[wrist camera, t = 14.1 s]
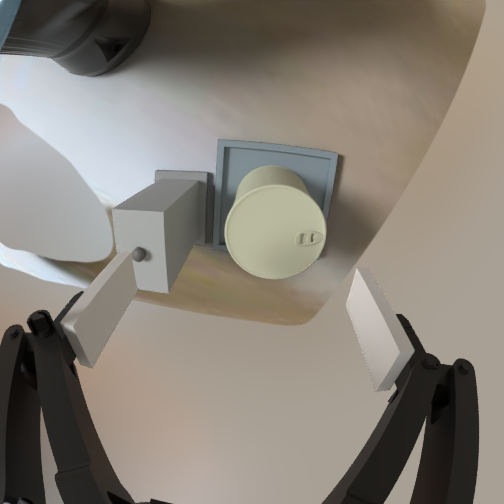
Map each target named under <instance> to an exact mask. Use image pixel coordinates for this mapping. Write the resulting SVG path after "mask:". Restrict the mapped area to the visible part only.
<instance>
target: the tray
mask: <svg viewBox="0 0 504 504" xmlns="http://www.w3.org/2000/svg"><path fill="white" fill-rule="evenodd" d="M337 158H338V153H335V152H330V151H324V150H317V149H311V148H304V147H297V146H289V145H281V144H272V143H262V142H251V141H238V140H222V139H219V140H218V148H217V164H216V181H215V201H214V226H213V250H222V251H228V248H227V245H226V242H225V223H226V220H227V216H228V214H229V212H230V210H231V208H232V207H233V204H234V202H235V199H236V193H237V189H238V187H239V184H240V183H241V181H242V180H243V178H244V177H245V176H246V175H247V174H249V173H250V172H251V171H253V170H255V169H257V168H259V167H262V166H268V165H276V166H282V167H285V168H287V169H289V170H291V171H293V172H294V173H295V174H297V175H298V176H299V177H300V179H301V180H302V181H303V183H304V185H305V187H306V189H307V191H308V193H309V194H310V196H311V197H312V198H313V199H314V201H315V202H316V203H317V204H318V206H319V207H320V209H321V211H322V213H323V215H324V218H325V221H326V223H327V218H328V213H329V207H330V202H331V196H332V190H333V184H334V178H335V171H336V165H337ZM319 258H320V255H319V257H318V258H317V260H319Z"/></svg>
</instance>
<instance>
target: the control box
mask: <svg viewBox="0 0 504 504" xmlns="http://www.w3.org/2000/svg"><path fill="white" fill-rule="evenodd" d="M207 187H208V172H200V171H175V170H156V171H155V183H154V184H152V185H150V186H148V187H147V188H145V189H143V190H142V191H140V192H138V193H137V194H135V195H134V196H132V197H130V198H129V199H127V200H126V201H124V202H122V203H121V204H119V205H118V206H116V207H115V208H113V209H112V215H113V225H114V234H115V242H116V250H117V254H118V253H119V252H120V251H124V252H131V255H132V261H133V267H134V273H135V278H136V284H137V289H141V290H148V291H155V292H162V293H169V291H170V289H171V287H172V285H173V284H174V282H175V280H176V278H177V276H178V274H179V272H180V270H181V268H182V266H183V264H184V263H185V261H186V259H187V257H188V255H189V253H190V251H191V249H192V248H193V246H194V245H204V246H205V244H206V214H207Z"/></svg>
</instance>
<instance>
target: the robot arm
mask: <svg viewBox="0 0 504 504" xmlns="http://www.w3.org/2000/svg"><path fill="white" fill-rule="evenodd" d="M149 21H150V7H149V3H148V1H147V0H0V54H10V55H26V56H37V57H47V58H51V59H53V60H54V61H55V62H56V63H58V64H59V65H60V66H62V67H63V68H64V69H65V70H66V71H68V72H69V73H72V74H75V75H81V76H96V75H100V74H103V73H105V72H108V71H110V70H111V69H113V68H115V67H116V66H118V65H119V64H120V63H122V62H123V61H124V60H125V59H126V58H127V57H129V55H130V54H131V53H132V52H133V51H134V50H135V49H136V47H137V46H138V45H139V43H140V42H141V40H142V39H143V37H144V35H145V33H146V31H147V28H148V25H149ZM137 291H138V289H137V284H136V278H135V273H134V267H133V261H132V255H131V252H124V251H120V252H119V253H118V254H117V255H116V256H115V257H114V258H113V259H112V261H111V262H110V263H109V264H108V265H107V266H106V267H105V268H104V270H103V271H102V272H101V273H100V274H99V275H98V276H97V278H96V279H95V280H94V281H93V282H92V283H91V285H90V286H89V287H88V288H87V289H86V291H85V292H83V291H81V292H80V293H78V294H76V295H75V296H74V297H73V298H72V299H71V300H70V301H69V303H68V304H67V305H66V306H65V308H64V309H63V310H62V311H61V312H60V314H59V315H58V316H57V318H56V319H55V320H54V321H53V320H52V318H51V316H50V313H49V312H48V311H47V310H38V311H36V312H34V313H32V314H31V315H30V316H29V318H28V320H27V324H28V326H29V328H30V330H31V332H32V333H25V331H24V329H23V327H22V326H21V325H17V324H16V325H12V326H11V327H9V328H8V329H7V330H6V331H5V333H4V336H3V339H2V342H1V345H0V504H46V500H45V490H44V483H43V475H42V463H41V446H40V412H41V407H42V412H43V417H44V422H45V426H46V430H47V434H48V438H49V442H50V446H51V449H52V452H53V456H54V459H55V462H56V465H57V469H58V473H56V474H55V481H56V485H57V487H58V490H59V493H60V495H61V498H62V500H63V502H64V504H171V503H167V502H163V501H158V500H155V499H151V500H150V502H140V503H135V502H134V500H133V499H132V498H131V496H130V494H129V493H128V492H127V490H126V489H125V488H124V487H123V486H122V484H121V483H120V481H119V479H118V477H117V476H116V474H115V472H114V470H113V468H112V466H111V464H110V462H109V460H108V457H107V455H106V453H105V451H104V448H103V446H102V444H101V442H100V439H99V437H98V434H97V432H96V429H95V427H94V424H93V422H92V419H91V416H90V413H89V410H88V407H87V404H86V401H85V398H84V395H83V392H82V389H81V385H80V381H79V378H78V374H77V370H76V367H75V365H74V363H73V362H74V360H75V358H76V357H77V359H78V361H79V363H80V364H81V365H83V366H86V367H90V368H93V367H94V365H95V363H96V361H97V360H98V358H99V356H100V354H101V352H102V350H103V349H104V347H105V345H106V343H107V342H108V340H109V338H110V336H111V334H112V332H113V331H114V329H115V328H116V326H117V324H118V322H119V321H120V319H121V317H122V316H123V314H124V312H125V311H126V309H127V307H128V306H129V304H130V302H131V301H132V299H133V298H134V296H135V294H136V293H137ZM346 308H347V310H348V313H349V316H350V318H351V321H352V324H353V327H354V329H355V332H356V335H357V338H358V340H359V343H360V346H361V349H362V352H363V355H364V358H365V361H366V364H367V367H368V370H369V373H370V375H371V379H372V382H373V385H374V388H375V391H376V392H378V391H386V390H390V388H391V387H392V385H393V384H394V383H395V384H396V387H397V389H396V391H395V392H394V394H393V395H392V396H391V398H390V399H389V400H388V402H389V404H388V406H387V408H386V410H385V412H384V413H383V415H382V417H381V419H380V421H379V422H378V424H377V426H376V428H375V430H374V431H373V433H372V434H371V436H370V438H369V439H368V441H367V443H366V444H365V446H364V447H363V449H362V450H361V452H360V453H359V455H358V456H357V458H356V459H355V461H354V462H353V464H352V465H351V467H350V468H349V469H348V471H347V472H346V474H345V475H344V476H343V478H342V479H341V480H340V482H339V483H338V484H337V485H336V487H335V488H334V489H333V491H332V492H331V493H330V494H329V495H328V497H327V498H326V499H325V500H324V501H323V503H322V504H384V502H385V500H386V499H387V497H388V495H389V494H390V492H391V490H392V489H393V487H394V485H395V483H396V482H397V480H398V478H399V476H400V474H401V472H402V470H403V468H404V466H405V464H406V462H407V460H408V458H409V456H410V454H411V452H412V450H413V447H414V445H415V443H416V440H417V438H418V436H419V433H420V431H421V429H422V426H423V423H424V421H425V418H426V426H425V434H424V441H423V447H422V453H421V459H420V464H419V469H418V473H417V478H416V482H415V486H414V490H413V494H412V497H411V501H410V504H473V499H474V493H475V486H476V477H477V469H478V454H479V413H478V412H479V411H478V396H477V386H476V377H475V370H474V367H473V366H472V364H471V363H470V362H469V361H467V360H465V359H457V360H456V361H455V362H454V364H453V365H445V364H441V363H440V361H439V360H438V359H437V357H435V356H434V355H432V354H429V353H426V352H425V350H424V348H423V346H422V344H421V342H420V341H419V339H418V337H417V335H416V334H415V331H414V330H413V329H412V326H411V325H410V323H409V321H408V320H407V319H406V318H405V317H404V316H403V315H402V314H395V313H394V311H393V309H392V307H391V305H390V304H389V302H388V300H387V299H386V297H385V295H384V293H383V292H382V290H381V288H380V287H379V285H378V283H377V282H376V280H375V278H374V277H373V275H372V273H371V272H370V270H369V269H368V268H356V272H355V276H354V279H353V282H352V286H351V290H350V293H349V296H348V299H347V303H346ZM426 416H427V417H426Z"/></svg>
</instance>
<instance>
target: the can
mask: <svg viewBox="0 0 504 504" xmlns="http://www.w3.org/2000/svg"><path fill="white" fill-rule="evenodd" d="M326 234H327V228H326V221H325V218H324V215H323V213H322V211H321V209H320V207H319V206H318V204H317V203H316V202H315V201H314V199H313V198H312V197H311V196H310V194H309V193H308V191H307V189H306V187H305V185H304V183H303V181H302V180H301V179H300V177H299V176H298V175H297V174H295V173H294V172H293V171H291V170H289V169H287V168H285V167H282V166H276V165H268V166H262V167H259V168H257V169H255V170H253V171H251V172H250V173H249V174H247V175H246V176H245V177H244V178H243V180H242V181H241V183H240V184H239V187H238V189H237V193H236V199H235V202H234V204H233V207H232V208H231V210H230V212H229V214H228V216H227V220H226V223H225V242H226V245H227V248H228V251H229V253H230V255H231V256H232V258H233V259H234V260H235V262H236V263H237V264H238V265H239V266H240V267H241V268H243V269H244V270H245V271H247V272H249V273H251V274H253V275H255V276H258V277H261V278H266V279H284V278H289V277H292V276H295V275H297V274H300V273H301V272H303V271H305V270H306V269H308V268H309V267H310V266H311V265H312V264H313V263H314V262H315V261H316V260H317V258H318V257H319V255H320V254H321V252H322V250H323V247H324V245H325V241H326Z"/></svg>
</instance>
